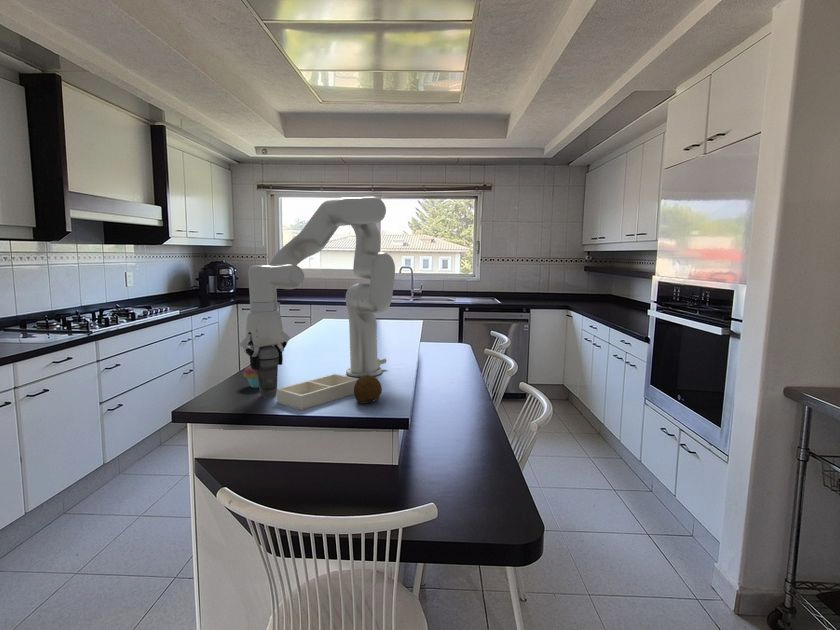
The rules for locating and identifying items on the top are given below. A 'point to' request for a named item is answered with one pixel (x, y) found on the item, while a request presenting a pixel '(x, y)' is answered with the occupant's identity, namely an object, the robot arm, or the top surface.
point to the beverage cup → (268, 370)
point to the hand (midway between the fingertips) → (267, 366)
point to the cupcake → (251, 376)
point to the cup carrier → (316, 391)
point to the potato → (367, 389)
